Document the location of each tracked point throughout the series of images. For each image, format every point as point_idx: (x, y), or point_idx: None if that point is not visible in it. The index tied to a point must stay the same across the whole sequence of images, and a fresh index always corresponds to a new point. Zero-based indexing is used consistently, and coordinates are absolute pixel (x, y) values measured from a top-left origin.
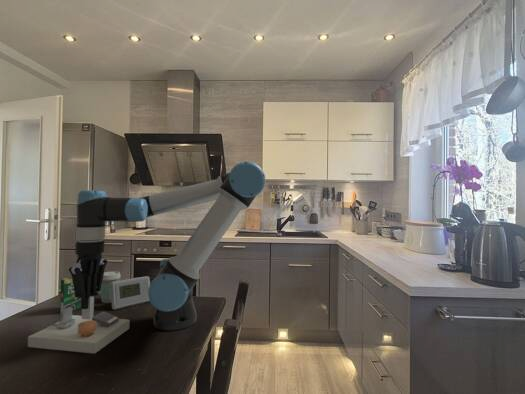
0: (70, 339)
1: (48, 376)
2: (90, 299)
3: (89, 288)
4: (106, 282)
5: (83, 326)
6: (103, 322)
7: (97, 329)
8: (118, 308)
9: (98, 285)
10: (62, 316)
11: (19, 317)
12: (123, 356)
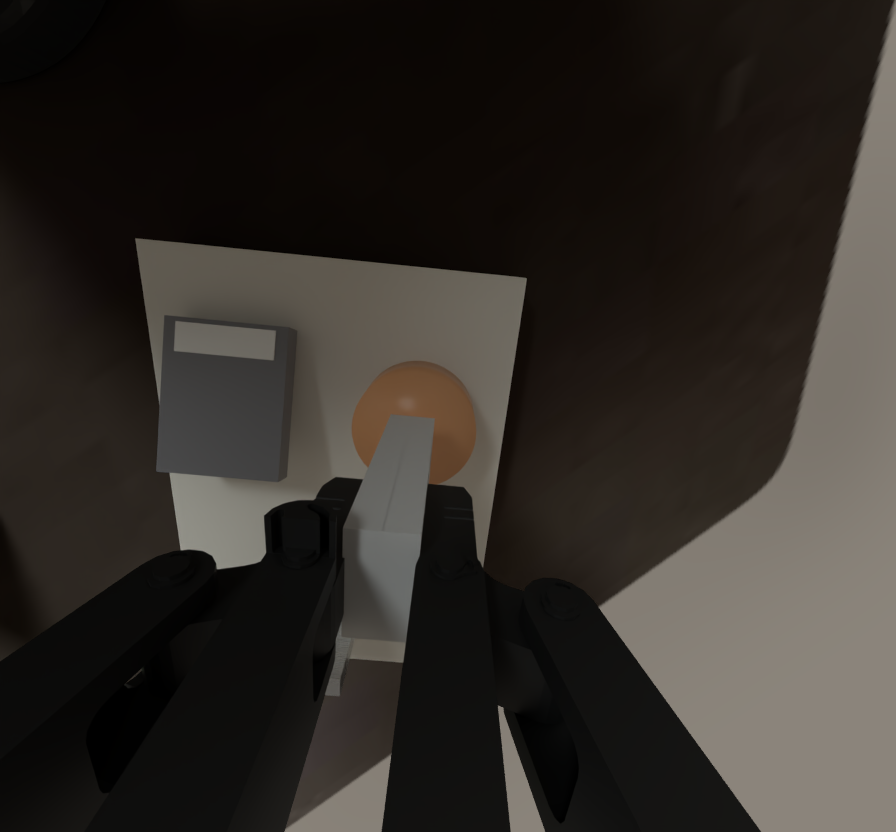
0: (487, 460)
1: (716, 371)
2: (421, 518)
3: (435, 687)
4: None
5: (462, 431)
6: (287, 378)
7: (343, 386)
8: None
9: (131, 654)
10: (348, 648)
11: None
12: (547, 50)
